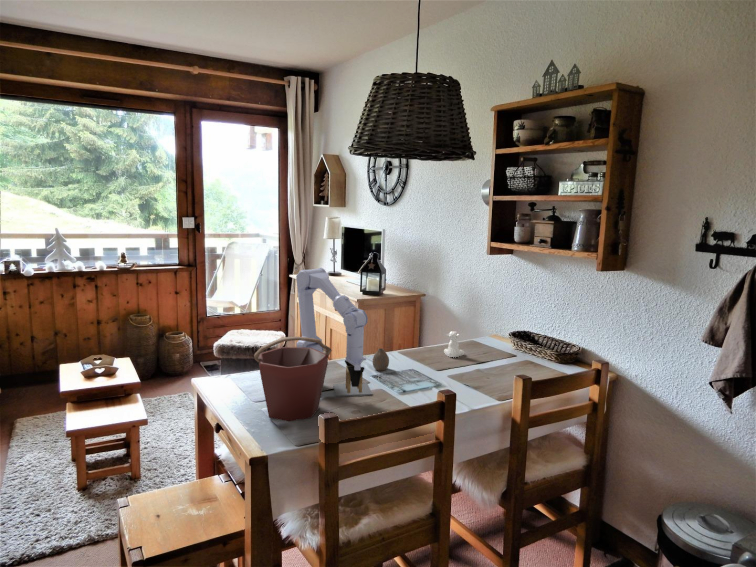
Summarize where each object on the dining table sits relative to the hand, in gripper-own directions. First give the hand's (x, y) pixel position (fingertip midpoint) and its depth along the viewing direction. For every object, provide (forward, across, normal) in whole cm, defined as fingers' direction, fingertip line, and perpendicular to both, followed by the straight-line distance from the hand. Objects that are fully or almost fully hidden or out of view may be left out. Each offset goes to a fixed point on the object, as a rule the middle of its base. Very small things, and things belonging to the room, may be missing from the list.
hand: (353, 383), depth 177 cm
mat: (+7, +10, -1) cm, 12 cm away
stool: (+2, 0, 0) cm, 3 cm away
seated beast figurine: (+7, +47, -53) cm, 72 cm away
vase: (+7, +32, -16) cm, 37 cm away
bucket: (+7, -6, +21) cm, 23 cm away
